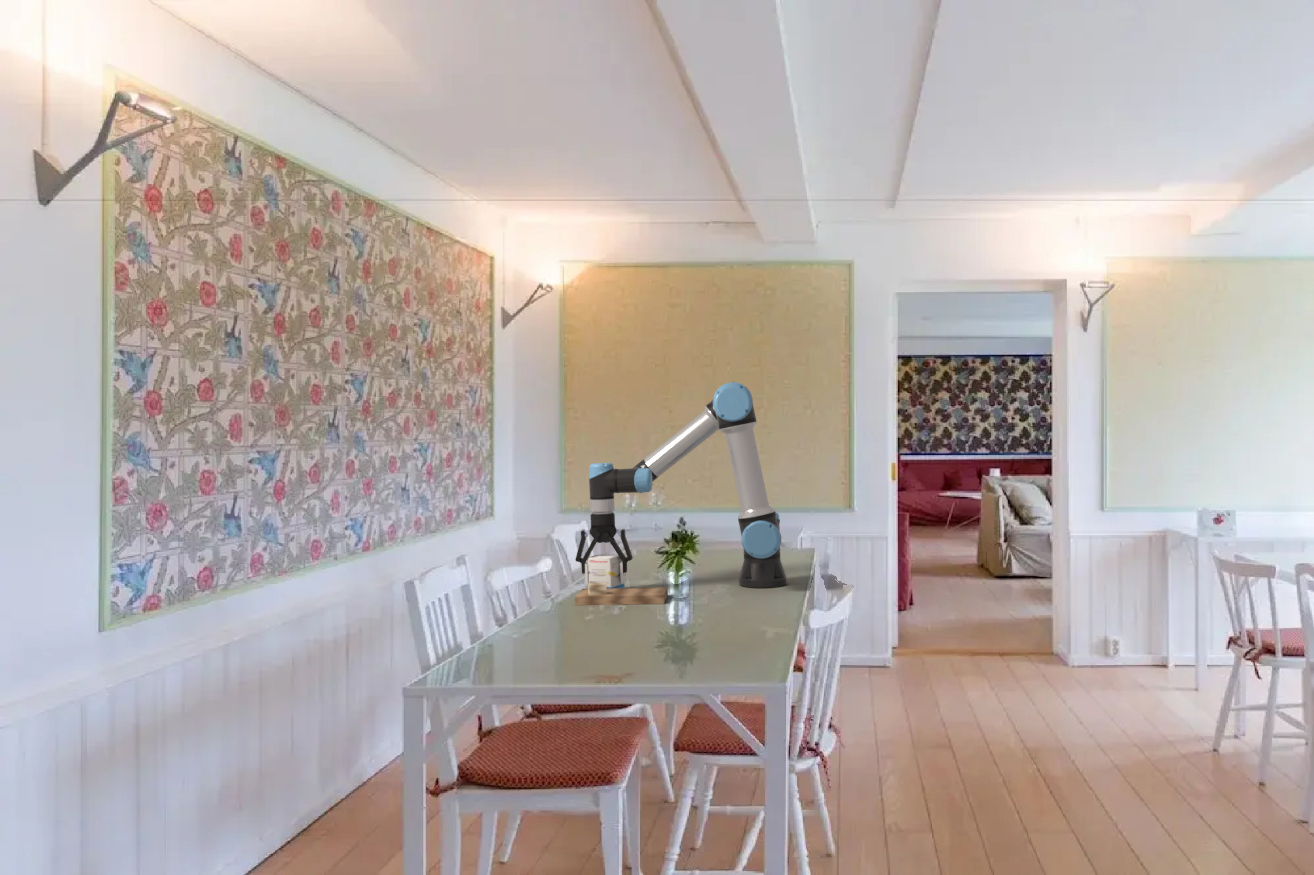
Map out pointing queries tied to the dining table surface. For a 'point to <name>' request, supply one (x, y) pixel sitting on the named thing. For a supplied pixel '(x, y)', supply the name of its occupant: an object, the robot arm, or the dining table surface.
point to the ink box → (605, 570)
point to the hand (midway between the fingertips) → (604, 583)
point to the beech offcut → (597, 588)
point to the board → (624, 596)
